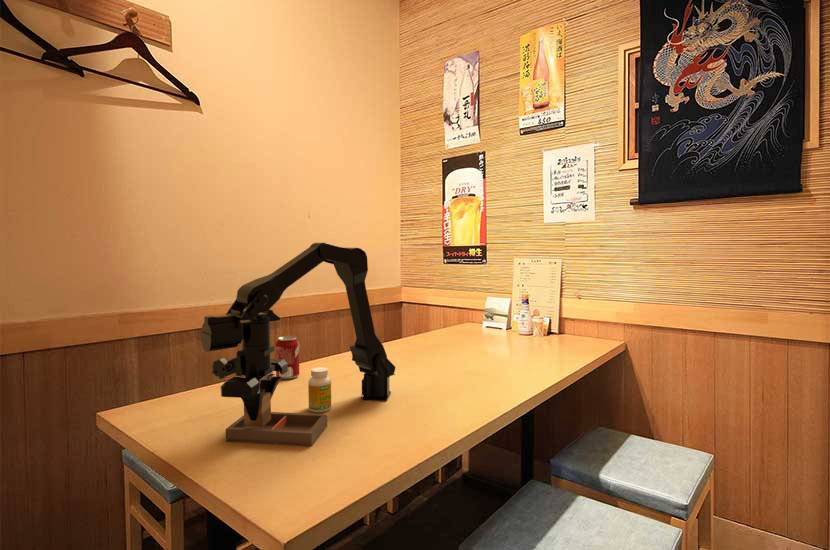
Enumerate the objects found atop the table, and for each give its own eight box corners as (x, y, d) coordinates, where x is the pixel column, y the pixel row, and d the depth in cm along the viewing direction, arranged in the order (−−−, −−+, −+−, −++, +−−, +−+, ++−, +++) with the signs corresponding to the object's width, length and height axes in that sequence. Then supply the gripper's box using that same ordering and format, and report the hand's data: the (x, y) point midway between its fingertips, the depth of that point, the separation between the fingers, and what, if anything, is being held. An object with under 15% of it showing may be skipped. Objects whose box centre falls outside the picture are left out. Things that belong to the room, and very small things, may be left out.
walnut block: (271, 419, 97) (270, 392, 97) (262, 426, 93) (262, 398, 93) (253, 418, 98) (252, 391, 97) (244, 425, 94) (243, 397, 93)
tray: (327, 426, 99) (327, 414, 99) (311, 446, 89) (311, 433, 89) (249, 422, 101) (249, 410, 101) (225, 441, 91) (225, 429, 91)
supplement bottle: (320, 414, 106) (319, 373, 105) (303, 410, 109) (303, 370, 108) (336, 407, 110) (335, 368, 110) (319, 403, 113) (319, 365, 113)
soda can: (293, 381, 132) (292, 340, 131) (271, 379, 133) (271, 339, 132) (303, 374, 138) (302, 335, 137) (283, 373, 139) (282, 335, 139)
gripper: (241, 333, 105) (243, 399, 106) (193, 353, 86) (196, 433, 87) (288, 335, 103) (289, 401, 104) (249, 355, 85) (251, 435, 86)
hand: (258, 416), depth 96 cm, fingers closed on walnut block, 4 cm apart
